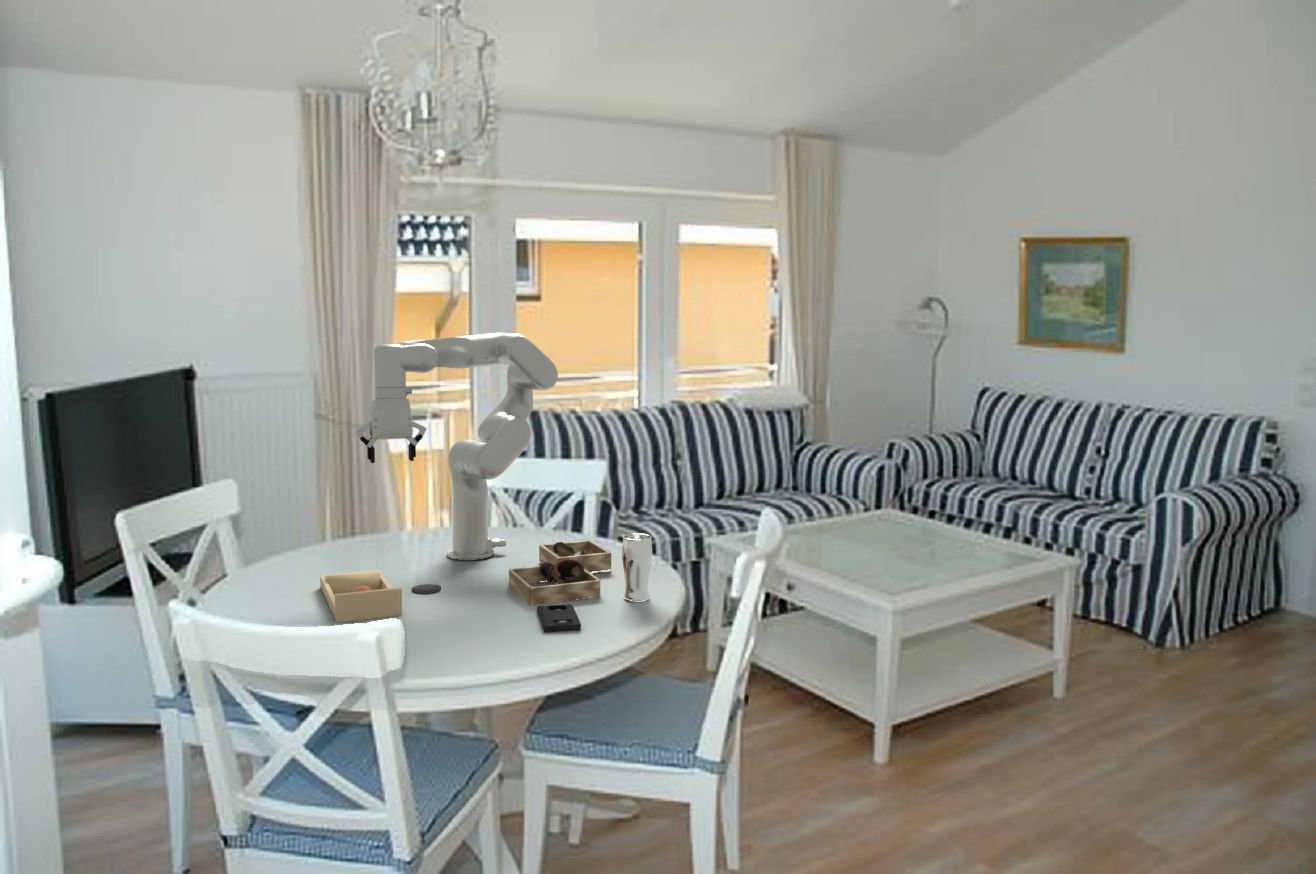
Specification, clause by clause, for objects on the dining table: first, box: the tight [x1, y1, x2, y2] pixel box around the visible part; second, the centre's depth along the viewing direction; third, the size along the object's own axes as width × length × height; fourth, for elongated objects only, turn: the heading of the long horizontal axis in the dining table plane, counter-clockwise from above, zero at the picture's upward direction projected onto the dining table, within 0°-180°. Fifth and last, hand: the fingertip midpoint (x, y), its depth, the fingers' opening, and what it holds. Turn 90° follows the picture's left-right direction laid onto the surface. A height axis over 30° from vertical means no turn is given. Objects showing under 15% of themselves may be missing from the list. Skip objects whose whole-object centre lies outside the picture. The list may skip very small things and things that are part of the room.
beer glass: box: [621, 532, 653, 601], centre depth 235 cm, size 7×7×15 cm
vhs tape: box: [536, 603, 582, 634], centre depth 218 cm, size 14×8×2 cm, turn 13°
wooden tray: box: [538, 539, 612, 572], centre depth 262 cm, size 15×15×5 cm
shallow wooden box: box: [508, 565, 601, 606], centre depth 240 cm, size 18×18×4 cm
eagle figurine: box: [553, 541, 587, 557], centre depth 261 cm, size 8×7×9 cm
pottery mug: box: [539, 559, 587, 585], centre depth 243 cm, size 12×10×8 cm
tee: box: [411, 583, 442, 595], centre depth 240 cm, size 7×7×1 cm
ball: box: [354, 586, 371, 592], centre depth 225 cm, size 4×4×4 cm
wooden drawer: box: [319, 569, 403, 624], centre depth 230 cm, size 14×28×10 cm, turn 25°
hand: (391, 461), depth 252 cm, fingers open, 9 cm apart
